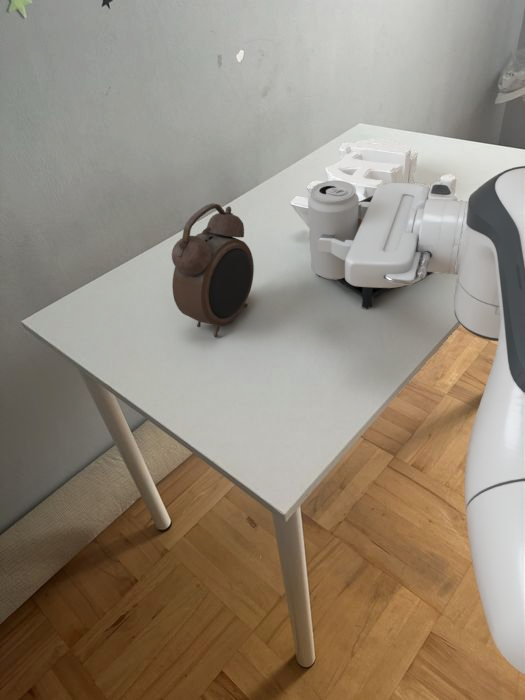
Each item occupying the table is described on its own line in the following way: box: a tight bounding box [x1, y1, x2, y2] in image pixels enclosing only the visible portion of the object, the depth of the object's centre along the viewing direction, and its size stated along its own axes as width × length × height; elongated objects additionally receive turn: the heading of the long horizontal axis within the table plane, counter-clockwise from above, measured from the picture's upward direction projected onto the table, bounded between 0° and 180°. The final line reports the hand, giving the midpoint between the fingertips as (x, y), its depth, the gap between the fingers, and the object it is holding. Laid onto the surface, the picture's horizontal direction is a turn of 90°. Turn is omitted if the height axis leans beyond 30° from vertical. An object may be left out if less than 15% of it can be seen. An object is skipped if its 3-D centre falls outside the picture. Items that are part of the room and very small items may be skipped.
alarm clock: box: [171, 202, 255, 338], centre depth 79 cm, size 15×7×20 cm, turn 147°
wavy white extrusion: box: [289, 138, 419, 228], centre depth 104 cm, size 35×16×11 cm, turn 146°
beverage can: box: [308, 180, 359, 280], centre depth 67 cm, size 6×6×12 cm
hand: (327, 227), depth 67 cm, fingers closed on beverage can, 6 cm apart
